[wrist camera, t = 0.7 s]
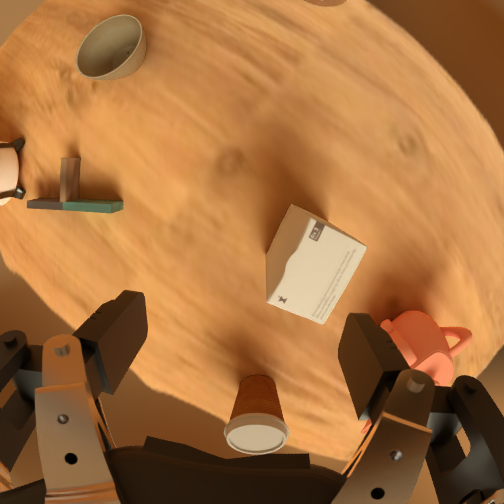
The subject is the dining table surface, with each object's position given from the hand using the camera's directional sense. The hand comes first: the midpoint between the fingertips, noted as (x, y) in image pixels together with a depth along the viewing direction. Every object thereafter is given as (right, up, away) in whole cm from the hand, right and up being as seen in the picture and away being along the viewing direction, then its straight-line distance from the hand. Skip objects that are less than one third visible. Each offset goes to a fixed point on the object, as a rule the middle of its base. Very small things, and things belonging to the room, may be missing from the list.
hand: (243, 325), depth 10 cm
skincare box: (+6, +5, +26) cm, 27 cm away
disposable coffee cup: (+1, -21, +34) cm, 40 cm away
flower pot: (-18, +31, +19) cm, 40 cm away
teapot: (+25, -14, +31) cm, 42 cm away
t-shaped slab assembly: (-26, +14, +24) cm, 38 cm away
